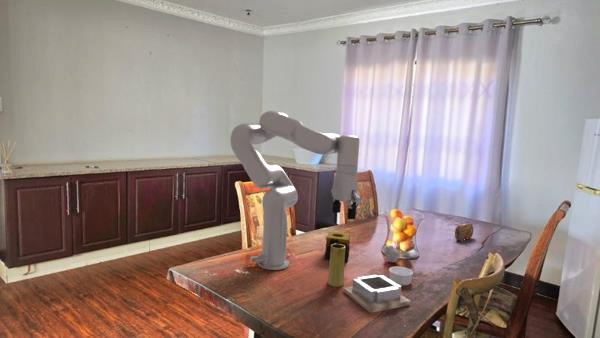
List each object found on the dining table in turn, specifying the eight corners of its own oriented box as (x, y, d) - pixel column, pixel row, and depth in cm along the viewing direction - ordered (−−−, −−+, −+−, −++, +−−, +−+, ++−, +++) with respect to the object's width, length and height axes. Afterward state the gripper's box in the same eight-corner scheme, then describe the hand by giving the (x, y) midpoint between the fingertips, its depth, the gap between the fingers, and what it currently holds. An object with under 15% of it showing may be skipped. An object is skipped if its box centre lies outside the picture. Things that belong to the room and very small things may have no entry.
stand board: (370, 312, 123) (370, 308, 123) (343, 291, 137) (343, 287, 137) (409, 305, 130) (410, 300, 130) (380, 285, 144) (380, 281, 144)
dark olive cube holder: (347, 262, 166) (349, 240, 165) (324, 259, 168) (325, 237, 167) (349, 255, 176) (351, 233, 175) (327, 252, 178) (328, 230, 177)
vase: (332, 288, 140) (335, 249, 138) (324, 281, 145) (326, 244, 143) (347, 285, 143) (349, 247, 141) (337, 279, 148) (340, 242, 146)
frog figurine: (386, 258, 174) (388, 242, 173) (401, 262, 170) (403, 246, 169) (380, 261, 170) (381, 245, 169) (395, 265, 165) (396, 249, 164)
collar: (371, 305, 125) (372, 293, 125) (350, 289, 136) (351, 278, 136) (402, 299, 131) (403, 287, 130) (379, 284, 142) (380, 273, 141)
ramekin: (408, 288, 143) (409, 277, 143) (384, 282, 148) (385, 271, 147) (414, 280, 151) (416, 270, 150) (392, 275, 155) (393, 264, 155)
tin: (458, 242, 205) (460, 226, 204) (452, 240, 207) (454, 225, 206) (472, 238, 214) (474, 223, 213) (467, 236, 216) (469, 221, 215)
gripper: (325, 166, 147) (322, 211, 150) (352, 173, 132) (348, 222, 134) (342, 166, 151) (339, 209, 153) (370, 172, 136) (366, 221, 138)
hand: (343, 215), depth 144 cm, fingers open, 9 cm apart
